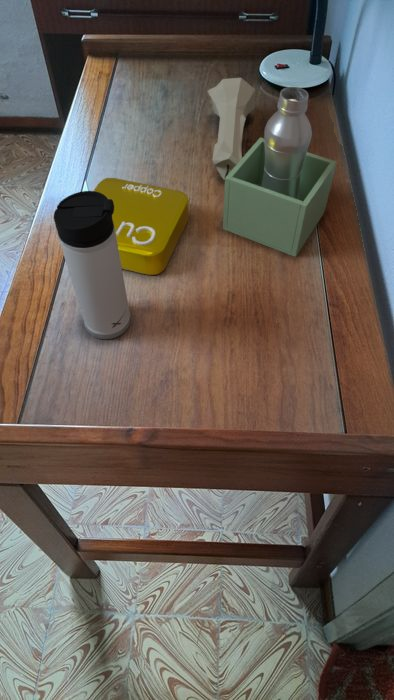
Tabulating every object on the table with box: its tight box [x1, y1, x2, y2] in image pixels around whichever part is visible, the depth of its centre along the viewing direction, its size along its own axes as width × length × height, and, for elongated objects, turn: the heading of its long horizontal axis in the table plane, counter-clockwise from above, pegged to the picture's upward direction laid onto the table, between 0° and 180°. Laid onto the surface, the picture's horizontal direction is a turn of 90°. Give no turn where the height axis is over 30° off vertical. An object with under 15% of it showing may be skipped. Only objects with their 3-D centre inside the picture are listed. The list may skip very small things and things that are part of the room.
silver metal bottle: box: [261, 86, 313, 200], centre depth 73 cm, size 6×7×20 cm
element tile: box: [93, 177, 190, 276], centre depth 78 cm, size 15×15×5 cm
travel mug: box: [53, 190, 131, 340], centre depth 62 cm, size 6×7×20 cm
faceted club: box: [207, 77, 256, 181], centre depth 90 cm, size 9×8×25 cm
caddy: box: [222, 137, 338, 258], centre depth 78 cm, size 13×12×10 cm
